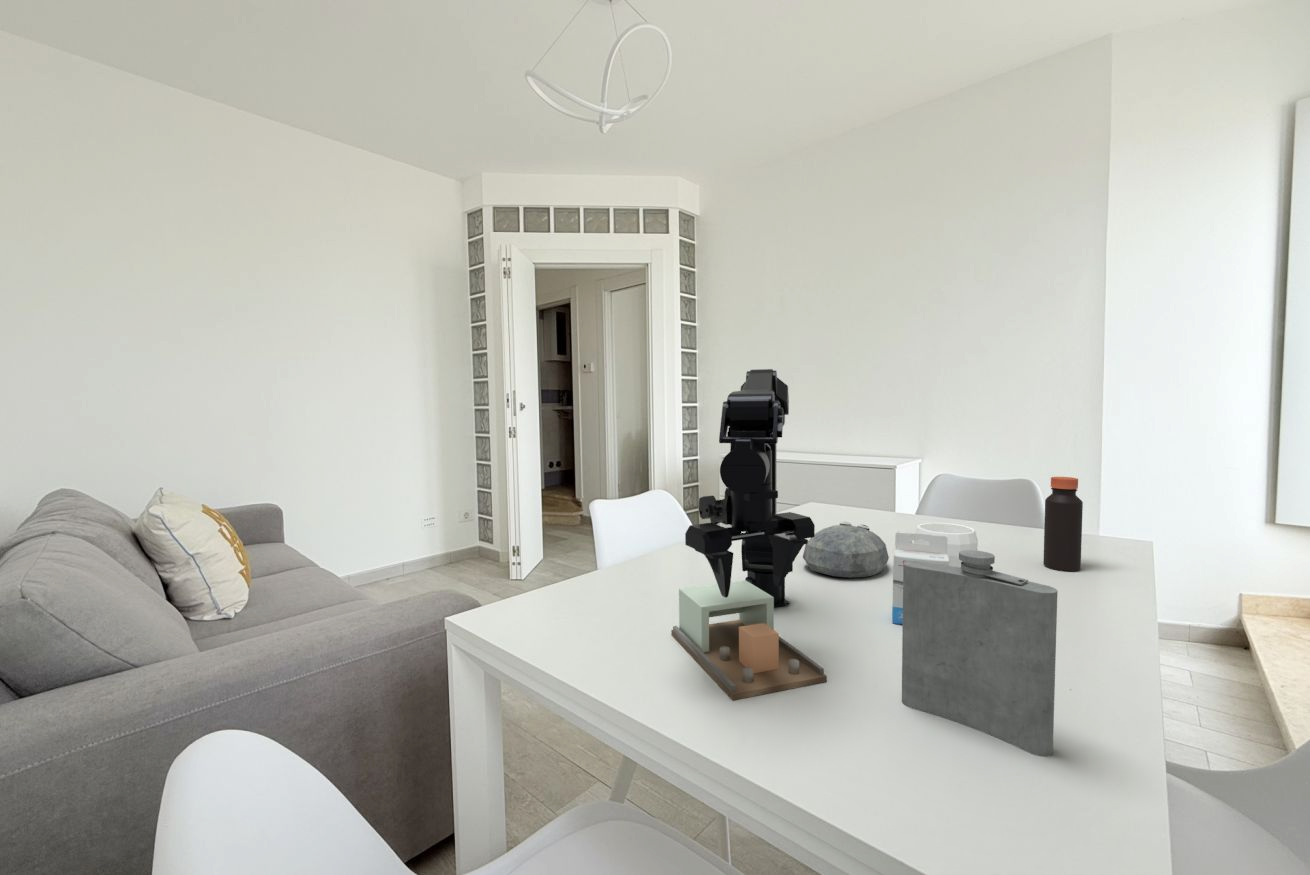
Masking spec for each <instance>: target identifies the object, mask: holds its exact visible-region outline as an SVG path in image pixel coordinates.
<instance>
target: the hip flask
mask: <svg viewBox="0 0 1310 875" xmlns="http://www.w3.org/2000/svg"><path fill="white" fill-rule="evenodd" d="M995 558H996V557H995V555H994V554H993V553H990V552H987V551H983V550H977V551H975V550H964V551H960V552H959V560H961V561H963V562H961V568H960V567H954V566H947V565H941V564H935V563H928V562H920V561H906V562H904V563H903V625H902V638H901V639H902V642H901V643H902V644H901V645H902V646H901V649H902V651H901V652H902V653H901V654H902V655H901V703H902V704H903V705H904V706H906V707H908V708H910V709H913V710H916V711H917V710H918V711H920V712H924V713H927V714H930V715H934V716H937V717H941V718H943V719H947V720H948V721H949V720H950V721H951V722H954V723H958V724H960V725H963V726H966V727H969V728H971V729H974V730H976V731H979V732H982V733H983V734H987V735H990V736H991V737H993V738H996V739H999V740H1001V741H1003V742H1006V743H1008V744H1011V745H1012V746H1015V747H1016V748H1018V749H1021V750H1023V751H1024V752H1027V753H1029V754H1031V755H1035V756H1039V757H1048V756H1051V755H1052V754H1053V752H1054V725H1055V724H1054V721H1055V695H1056V694H1055V689H1056V688H1055V687H1056V683H1055V682H1056V655H1057V654H1056V653H1057V626H1058V625H1057V622H1058V620H1057V619H1058V589H1057V588H1055V587H1053V586H1050V585H1046V584H1041V583H1038V582H1034V581H1029V580H1028V579H1025V578H1022V577H1018V576H1015V575H1011V574H1006V573H1003V572H999V571H997V570H994V567H993V566H992V565H993V564H995V562H996V561H995Z"/></svg>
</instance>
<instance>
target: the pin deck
mask: <svg viewBox="0 0 1310 875" xmlns="http://www.w3.org/2000/svg"><path fill="white" fill-rule="evenodd" d="M741 626H745V625H744V624H743V623H741V622H740V619H737V620H736V619H734V620H730V621H722V622H717V623H709V652H704V653H703V652H702V651H701V650H700V649H699V648H698V647H697V646H696V645H695V644H694V643H693V642H692V641H691V640H690V639H689V638H688V637H687V636H686V635H685V634H684V633H683V632H682V631H681V630H680V629H679V626H678V625H672V629H670V630H671V631H670V632H671V636H672V637H673V638H674V639H675V640H676V641H677V642H678V644H679V645H680V646H681V647H682V648H683V649H684V650H685V651H686V652H687V653H688V654H689V655H690V656H691V658H692V659H694V661H695V662H696V663H697V664H698V665H699V666H700V668H702V669H703V670H704V672H705V673H706V674H707V675H708V676H709V677H710V678H711V679H712V680H713V681H714V682H715V683H716V684H717V686H718V687H720V689H722V690H723V692H724V693H725V694H726V695H727V696H728V697H729V698H730V699H731V700H732V701H735V700H736V701H737V700H741V699H747V698H751V697H756V696H757V697H758V696H762V695H767V694H771V693H777V692H782V691H786V690H790V689H792V690H793V689H796V688H801V687H807V686H811V685H817V684H822V683H827V682H828V680H827V679H828V676H827V675H826V674H825V668H824V667H823V666H821V665H820V664H818V663H817V662H816V661H814V660H813V659H811V658H810V657H809V656H808V655H806V654H804V653H803V652H802V651H800V650H799V649H798V648H796V647H795V646H794V645H792V644H791V643H789V642H788V641H787V640H785V639H783V638H782V637H781V636H779V669H774V670H769V671H764V672H759V673H753V669H752V668H750V667H745V666H744V665H743V664H742V663H740V662H739V627H741Z"/></svg>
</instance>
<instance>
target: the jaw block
mask: <svg viewBox="0 0 1310 875" xmlns="http://www.w3.org/2000/svg"><path fill="white" fill-rule="evenodd" d="M779 637H780V636H779V632H778V631H776V630H775V629H774V630H773V629H772V628H770V627H769V626H767V625H766V624H765V623H760V624H754V625H747V626H741V627H739V662H740V663H742V664H743V665H744V666H745V667H750V668H752V669H753V673H759V672H764V671H769V670H774V669H779Z"/></svg>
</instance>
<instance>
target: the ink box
mask: <svg viewBox="0 0 1310 875" xmlns="http://www.w3.org/2000/svg"><path fill="white" fill-rule="evenodd" d="M919 539H923V540H924V541H929V542H930V544H929V545H926V544H915V543H914V542H913V541H914V540H919ZM894 543H895V544H894V545H895V549H894V550H893V563H892V564H893V565H892V566H893V567H892V568H893V570H892V572H893V573H892V606H891V608H892V611H891V612H892V613H891V615H892V617H891V618H892V620H891V621H892V622H891V623H892V624H896V625H902V626H903V563H904V562H906V561H920V562H928V563H935V564H941V565H947V566H949V556H948V554H947V537H946V536H940V535H930V534H918V533H915V532H903V531H902V532H900V531H898V532H896V533H895V542H894Z"/></svg>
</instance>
